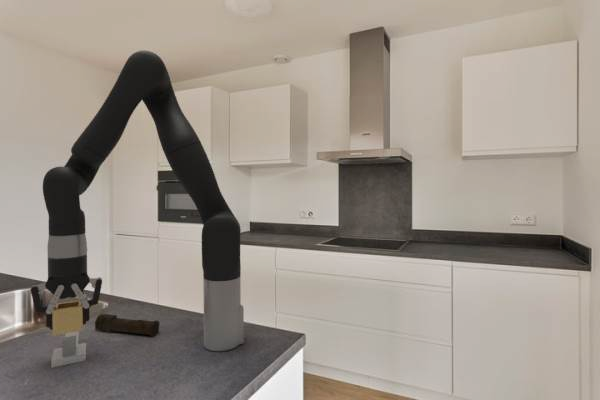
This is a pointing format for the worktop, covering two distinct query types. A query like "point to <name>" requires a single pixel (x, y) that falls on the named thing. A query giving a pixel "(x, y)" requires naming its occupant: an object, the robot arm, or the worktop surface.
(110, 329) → the hand tool
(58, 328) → the tan open-top container
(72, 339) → the clear stepped bracket
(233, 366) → the worktop surface
